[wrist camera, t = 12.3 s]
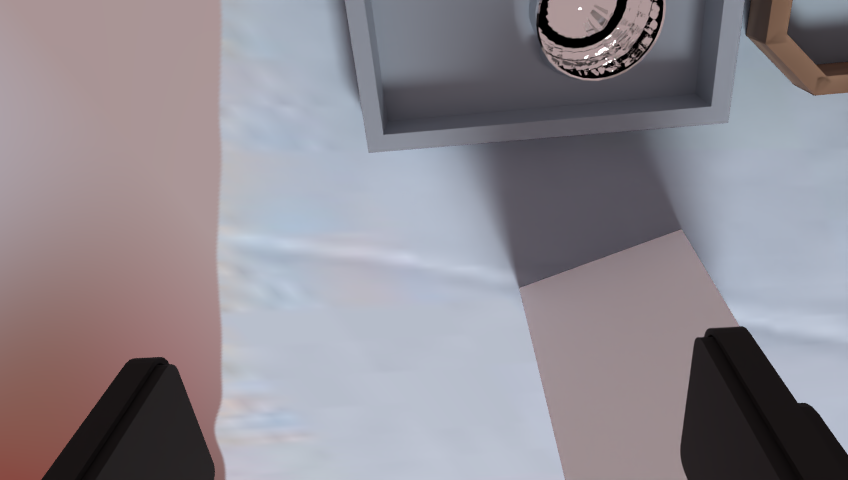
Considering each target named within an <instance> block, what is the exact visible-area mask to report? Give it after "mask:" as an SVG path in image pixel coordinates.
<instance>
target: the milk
mask: <svg viewBox="0 0 848 480" xmlns="http://www.w3.org/2000/svg"><path fill="white" fill-rule="evenodd" d="M519 289H520V294H521V298H522V302H523V306H524V310H525V314H526V319H527V323H528V327H529V331H530V335H531V339H532V344H533V348H534V352H535V356H536V360H537V364H538V369H539V373H540V377H541V381H542V385H543V389H544V393H545V398H546V402H547V406H548V410H549V414H550V418H551V423H552V427H553V431H554V435H555V439H556V443H557V448H558V452H559V456H560V460H561V464H562V468H563V473H564V477H565V480H687V477H686V475H685V472H684V469H683V466H682V462H681V456H680V445H681V437H682V429H683V422H684V414H685V407H686V399H687V392H688V384H689V377H690V369H691V362H692V354H693V347H694V341H695V339H696V338H697V337H704V335H705V332H706V330H707V329H709V328H722V327H740V326H739V324H738V323H737V321H736V319H735V318H734V316H733V314H732V313H731V311H730V309H729V308H728V306H727V304H726V303H725V301H724V299H723V298H722V296H721V294H720V293H719V291H718V289H717V288H716V286H715V284H714V283H713V281H712V279H711V278H710V276H709V274H708V273H707V271H706V269H705V268H704V266H703V264H702V263H701V261H700V259H699V257H698V256H697V254H696V252H695V251H694V249H693V247H692V246H691V244H690V242H689V241H688V239H687V237H686V236H685V234H684V232H683V231H682V229H680V230H678V231H675V232H672V233H669V234H667V235H664V236H661V237H658V238H656V239H653V240H650V241H647V242H645V243H642V244H639V245H636V246H633V247H631V248H628V249H625V250H622V251H620V252H617V253H614V254H611V255H609V256H606V257H603V258H600V259H598V260H595V261H592V262H589V263H587V264H584V265H581V266H578V267H576V268H573V269H570V270H567V271H565V272H562V273H559V274H556V275H553V276H551V277H548V278H545V279H542V280H540V281H537V282H534V283H531V284H529V285H526V286H523V287H520V288H519Z"/></svg>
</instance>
